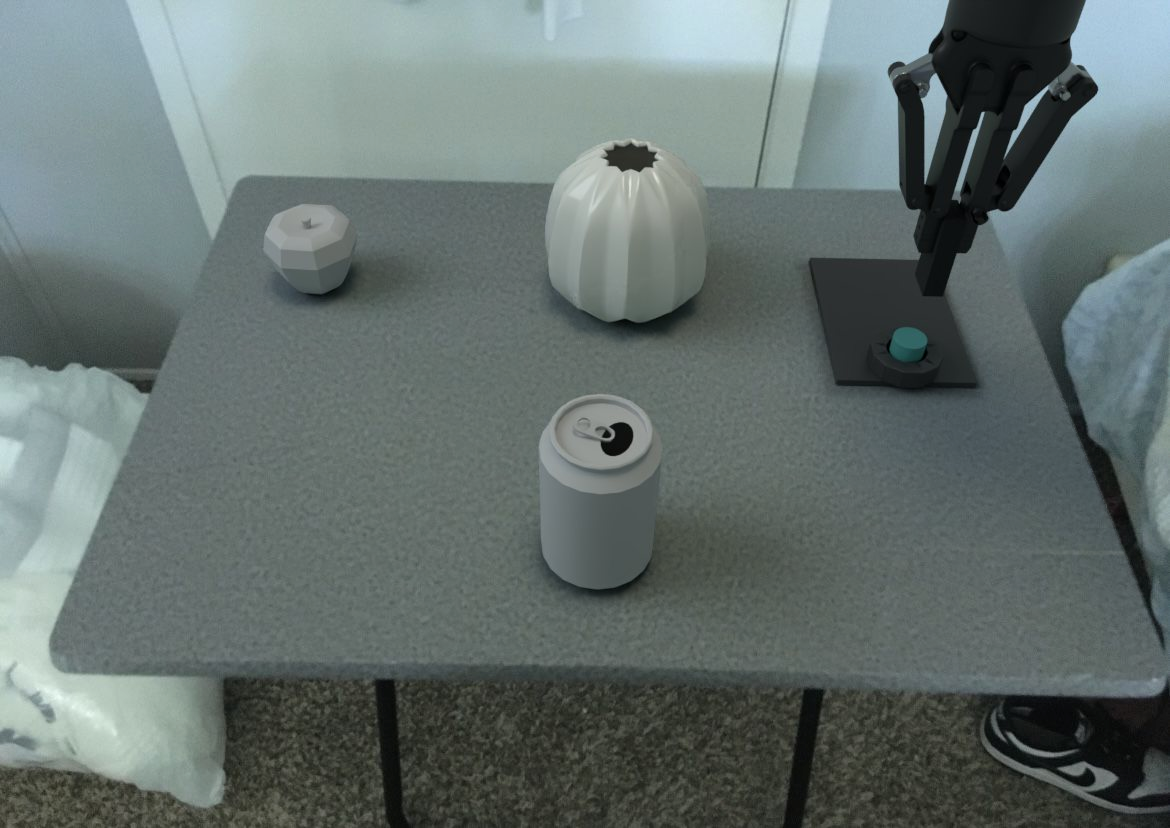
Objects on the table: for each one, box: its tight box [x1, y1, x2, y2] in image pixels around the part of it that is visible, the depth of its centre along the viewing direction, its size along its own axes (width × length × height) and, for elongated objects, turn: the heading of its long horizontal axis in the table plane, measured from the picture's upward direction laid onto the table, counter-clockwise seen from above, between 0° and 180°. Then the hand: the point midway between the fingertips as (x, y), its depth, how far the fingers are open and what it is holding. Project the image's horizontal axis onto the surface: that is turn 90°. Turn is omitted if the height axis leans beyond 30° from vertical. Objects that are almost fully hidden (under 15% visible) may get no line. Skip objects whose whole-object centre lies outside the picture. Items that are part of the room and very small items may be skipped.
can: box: [538, 393, 664, 590], centre depth 65 cm, size 8×8×12 cm
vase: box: [544, 137, 712, 324], centre depth 84 cm, size 14×14×13 cm
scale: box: [808, 257, 978, 389], centre depth 86 cm, size 17×11×2 cm, turn 179°
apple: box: [262, 203, 359, 295], centre depth 87 cm, size 8×8×7 cm
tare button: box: [889, 327, 927, 363], centre depth 81 cm, size 3×3×2 cm
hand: (928, 284), depth 76 cm, fingers closed
